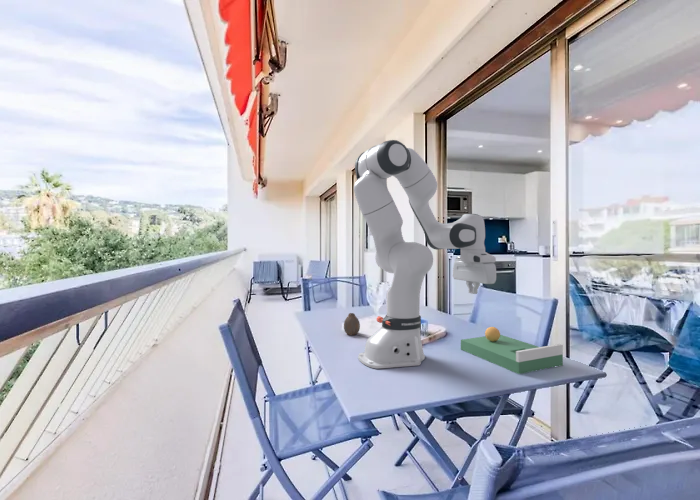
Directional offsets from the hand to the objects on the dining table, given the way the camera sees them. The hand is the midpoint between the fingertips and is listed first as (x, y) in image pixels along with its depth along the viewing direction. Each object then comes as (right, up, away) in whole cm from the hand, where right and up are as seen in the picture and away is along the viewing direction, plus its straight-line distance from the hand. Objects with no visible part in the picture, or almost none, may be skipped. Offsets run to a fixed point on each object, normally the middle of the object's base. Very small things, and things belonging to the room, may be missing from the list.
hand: (473, 293), depth 135 cm
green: (+6, -19, -15) cm, 26 cm away
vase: (-46, -20, +17) cm, 53 cm away
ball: (+4, -13, -9) cm, 16 cm away
